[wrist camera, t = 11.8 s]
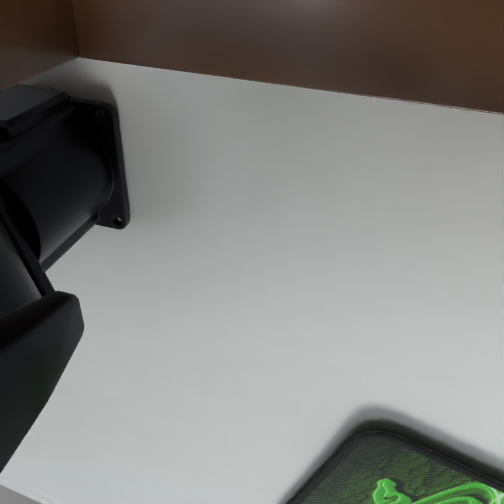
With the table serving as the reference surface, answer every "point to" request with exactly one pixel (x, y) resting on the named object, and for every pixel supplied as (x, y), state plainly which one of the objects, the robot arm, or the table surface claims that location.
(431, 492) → the mouse mat
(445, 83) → the shelf
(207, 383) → the table surface
